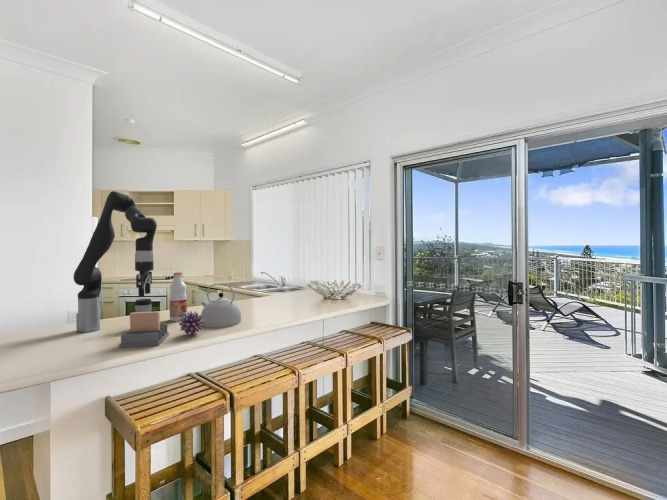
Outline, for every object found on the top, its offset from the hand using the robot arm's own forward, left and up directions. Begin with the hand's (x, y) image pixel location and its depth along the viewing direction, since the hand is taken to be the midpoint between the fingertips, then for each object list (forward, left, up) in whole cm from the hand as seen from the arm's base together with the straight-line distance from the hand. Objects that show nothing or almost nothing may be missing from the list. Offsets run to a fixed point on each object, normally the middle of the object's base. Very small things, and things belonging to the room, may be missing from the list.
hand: (144, 295), depth 158 cm
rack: (0, 0, -22) cm, 22 cm away
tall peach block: (0, 0, -20) cm, 20 cm away
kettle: (+30, +32, -22) cm, 49 cm away
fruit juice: (+5, +43, -22) cm, 49 cm away
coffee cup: (-9, +27, -22) cm, 36 cm away
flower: (+19, +7, -22) cm, 30 cm away
